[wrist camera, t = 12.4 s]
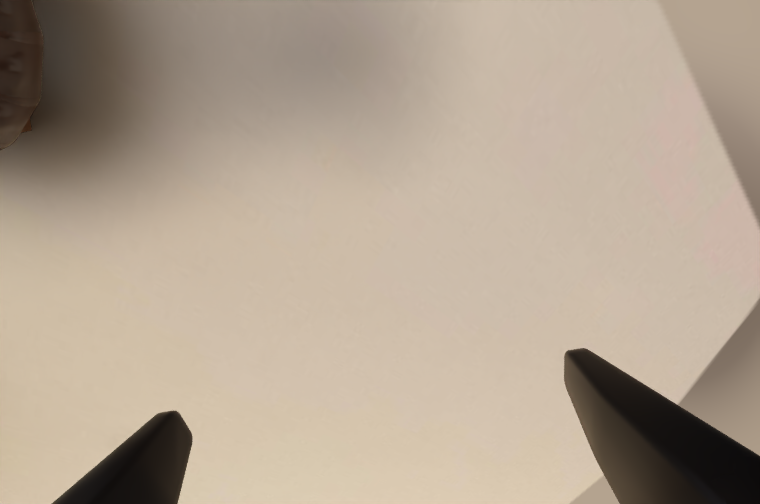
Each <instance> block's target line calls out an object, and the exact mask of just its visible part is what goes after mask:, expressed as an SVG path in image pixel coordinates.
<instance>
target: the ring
mask: <svg viewBox="0 0 760 504" xmlns="http://www.w3.org/2000/svg"><path fill="white" fill-rule="evenodd" d="M43 45H44V41H43V35H42V31H41V28H40V25H39V22H38V19H37V15H36V12H35V9H34V6H33V3H32V0H0V150H1V149H4V148H6V147H8V146H9V145H11V144H12V143H14V142H15V140H16V139H17V138H18V136H19V134H20V133H21V131H22V129H23V128H24V126H25V125H26V123H27V121H28V120H29V118H30V116H31V115H32V113H33V111H34V110H35V108H36V106H37V105H38V103H39V101H40V99H41V90H42V68H43Z"/></svg>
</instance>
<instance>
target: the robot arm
mask: <svg viewBox="0 0 760 504" xmlns="http://www.w3.org/2000/svg"><path fill="white" fill-rule="evenodd" d="M564 381H565V385H566V389H567V391H568V394H569V396H570V398H571V401H572V403H573V406H574V408H575V411H576V413H577V415H578V418H579V420H580V423H581V425H582V428H583V430H584V432H585V435H586V437H587V440H588V442H589V444H590V447H591V449H592V451H593V454H594V456H595V458H596V460H597V462H598V464H599V466H600V468H601V470H602V472H603V474H604V475H605V477H606V479H607V481H608V483H609V485H610V486H611V488H612V490H613V492H614V494H615V496H616V497H617V499H618V501H619V503H620V504H760V456H759V455H757V454H756V453H754V452H753V451H751V450H749V449H748V448H746V447H744V446H743V445H741V444H740V443H738V442H736V441H735V440H733V439H731V438H730V437H728V436H727V435H725V434H723V433H722V432H720V431H718V430H717V429H715V428H713V427H712V426H711V425H709V424H707V423H705V422H704V421H702V420H701V419H699V418H698V417H696V416H694V415H693V414H691V413H689V412H688V411H686V410H685V409H683V408H681V407H680V406H678V405H677V404H675V403H673V402H672V401H670V400H669V399H667V398H665V397H664V396H662V395H661V394H659V393H657V392H656V391H654V390H652V389H651V388H649V387H648V386H646V385H644V384H643V383H641V382H640V381H638V380H636V379H635V378H633V377H631V376H630V375H628V374H627V373H625V372H623V371H622V370H620V369H619V368H617V367H615V366H614V365H612V364H610V363H609V362H607V361H606V360H604V359H602V358H601V357H599V356H598V355H596V354H594V353H593V352H591V351H589V350H588V349H585V348H581V349H574V350H568V351H567V352H566V353H565V357H564ZM191 446H192V434H191V431H190V430H189V428H188V426H187V425H186V423H185V422H184V420H183V418H182V417H181V415H180V414H179V413H178V412H177V411H168V412H161V413H159V414H157V415H155V416H154V417H153V418H152V419H151V420H149V421H148V422H147V423H146V424H145V425H144V426H142V427H141V428H140V429H139V430H138V431H137V432H135V433H134V434H133V435H132V436H131V437H130V438H128V439H127V440H126V441H125V442H124V443H122V444H121V445H120V446H119V447H118V448H117V449H115V450H114V451H113V452H112V453H111V454H110V455H108V456H107V457H106V458H105V459H104V460H103V461H101V462H100V463H99V464H98V465H97V466H95V467H94V468H93V469H92V470H91V471H90V472H88V473H87V474H86V475H85V476H84V477H83V478H81V479H80V480H79V481H78V482H77V483H75V484H74V485H73V486H72V487H71V488H70V489H68V490H67V491H66V492H65V493H64V494H63V495H61V496H60V497H59V498H58V499H57V500H56V501H54V502H53V503H52V504H177V503H178V500H179V495H180V491H181V487H182V483H183V479H184V475H185V471H186V467H187V463H188V459H189V454H190V450H191Z"/></svg>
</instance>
